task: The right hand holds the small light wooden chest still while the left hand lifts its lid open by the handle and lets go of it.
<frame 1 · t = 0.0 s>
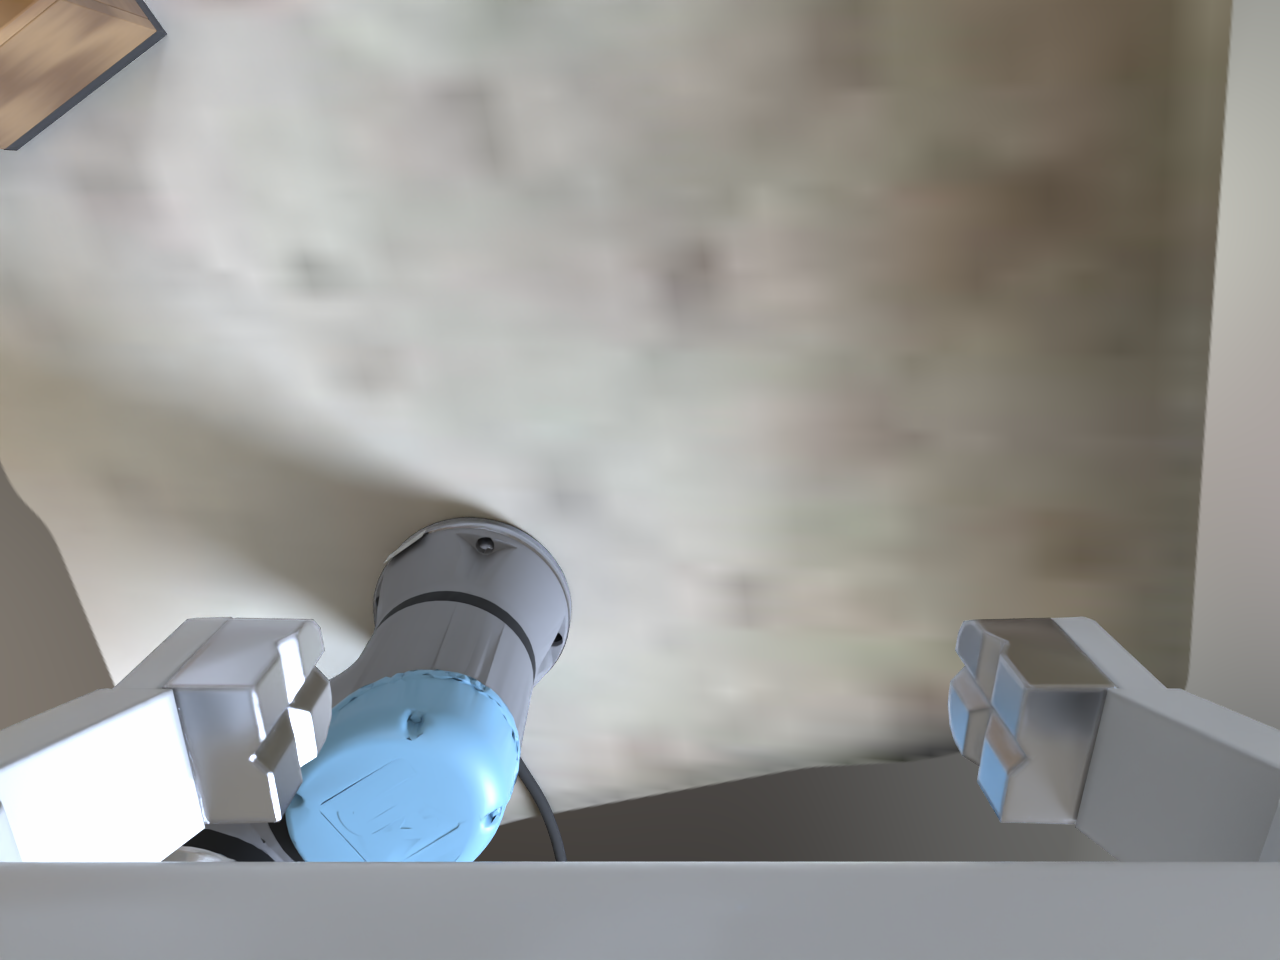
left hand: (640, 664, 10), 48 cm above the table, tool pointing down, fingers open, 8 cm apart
chest: (36, 22, 50), on the table
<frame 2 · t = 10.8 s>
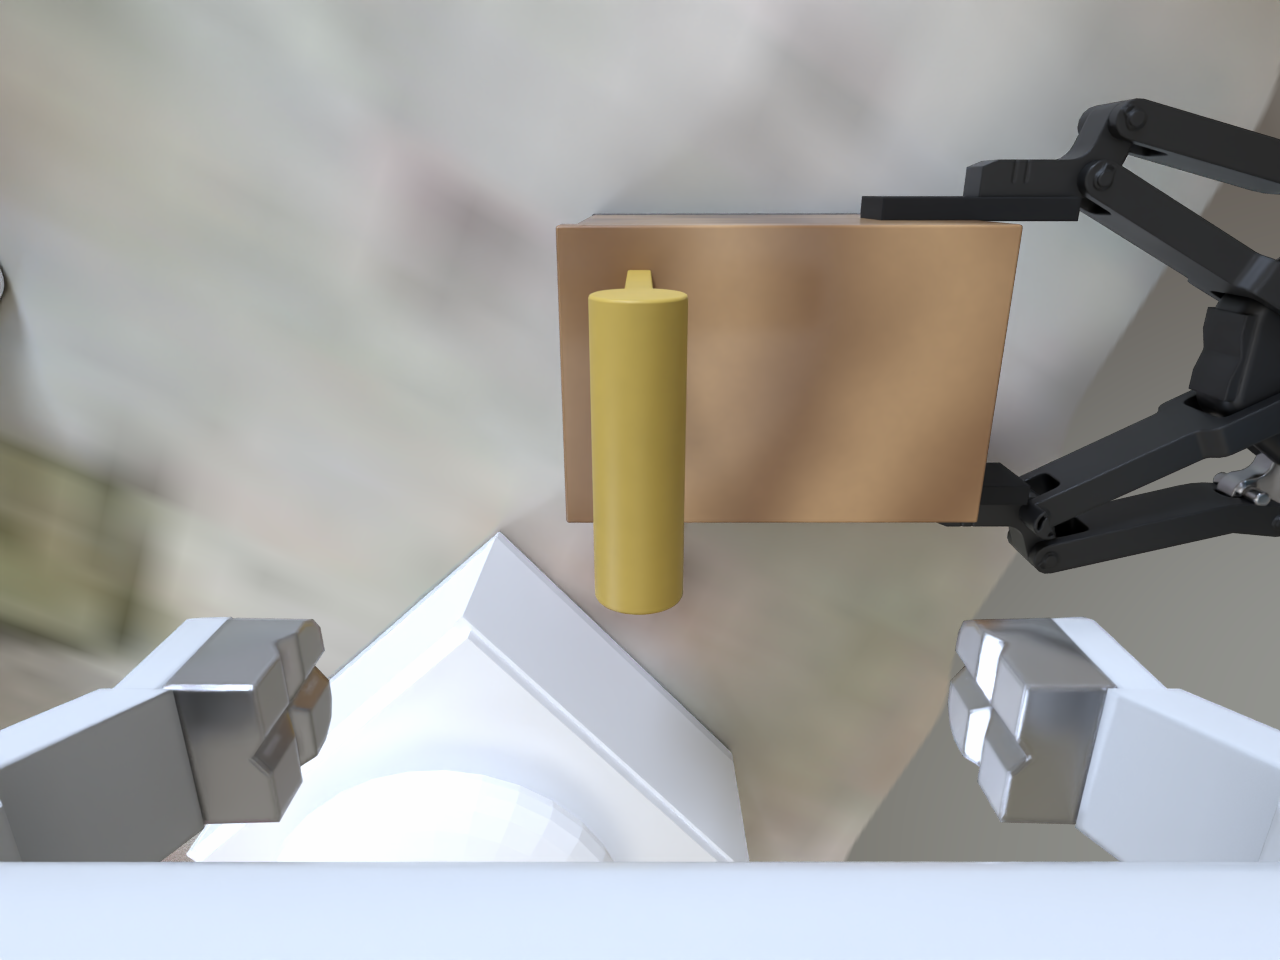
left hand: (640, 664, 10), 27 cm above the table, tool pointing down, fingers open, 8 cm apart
right hand: (857, 354, 29), fingers closed on chest, 9 cm apart
lid: (801, 413, 22), point 14 cm above the table, hinge at 0.0°
butter dish: (504, 744, 43), on the table
chest: (745, 326, 35), on the table, touching right hand
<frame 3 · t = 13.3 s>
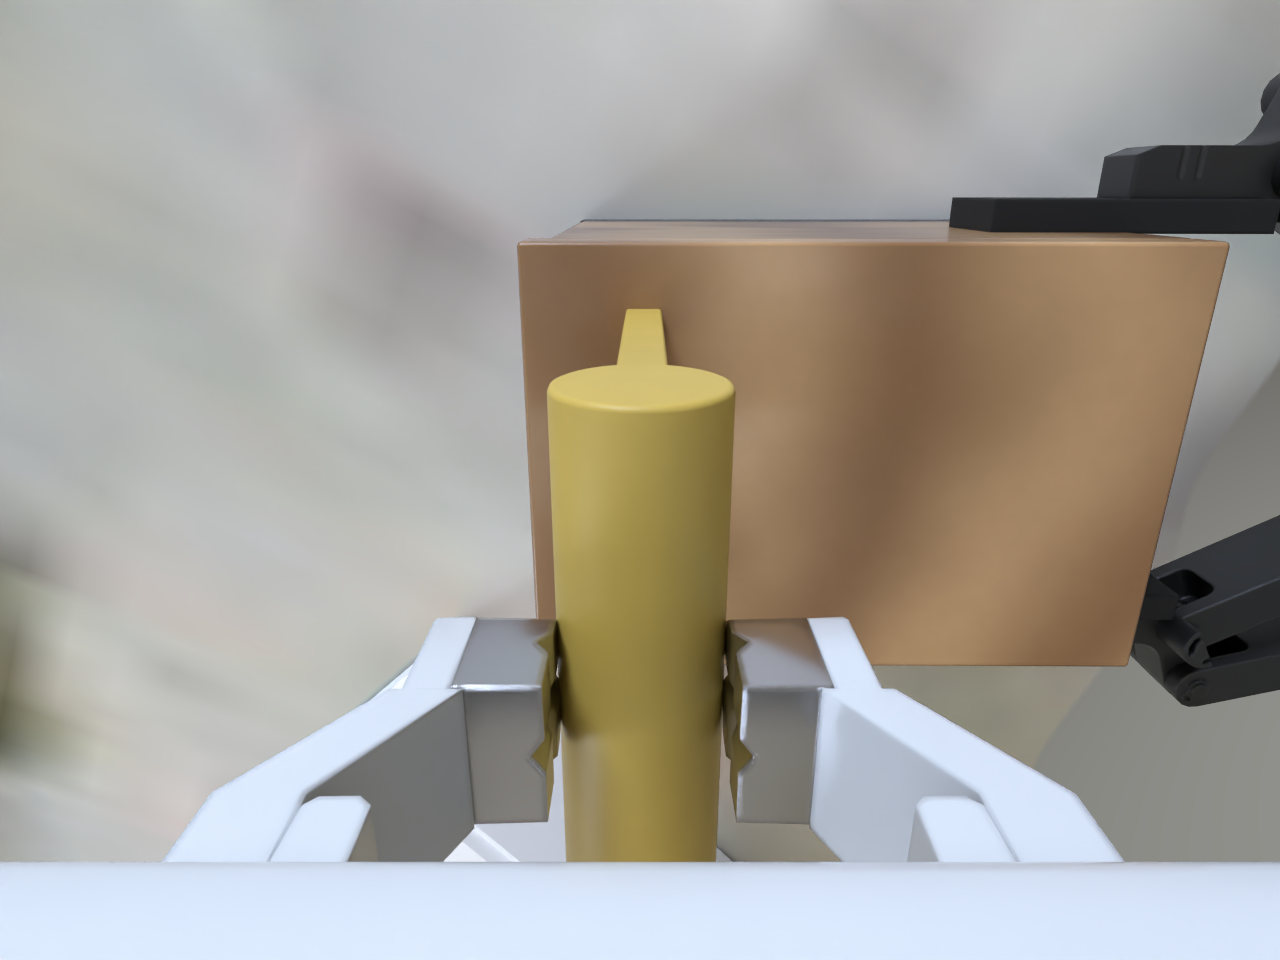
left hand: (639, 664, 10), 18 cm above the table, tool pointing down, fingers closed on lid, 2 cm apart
lid: (900, 543, 14), point 14 cm above the table, hinge at -0.2°, touching left hand
butter dish: (474, 869, 35), on the table
chest: (779, 365, 27), on the table, touching right hand
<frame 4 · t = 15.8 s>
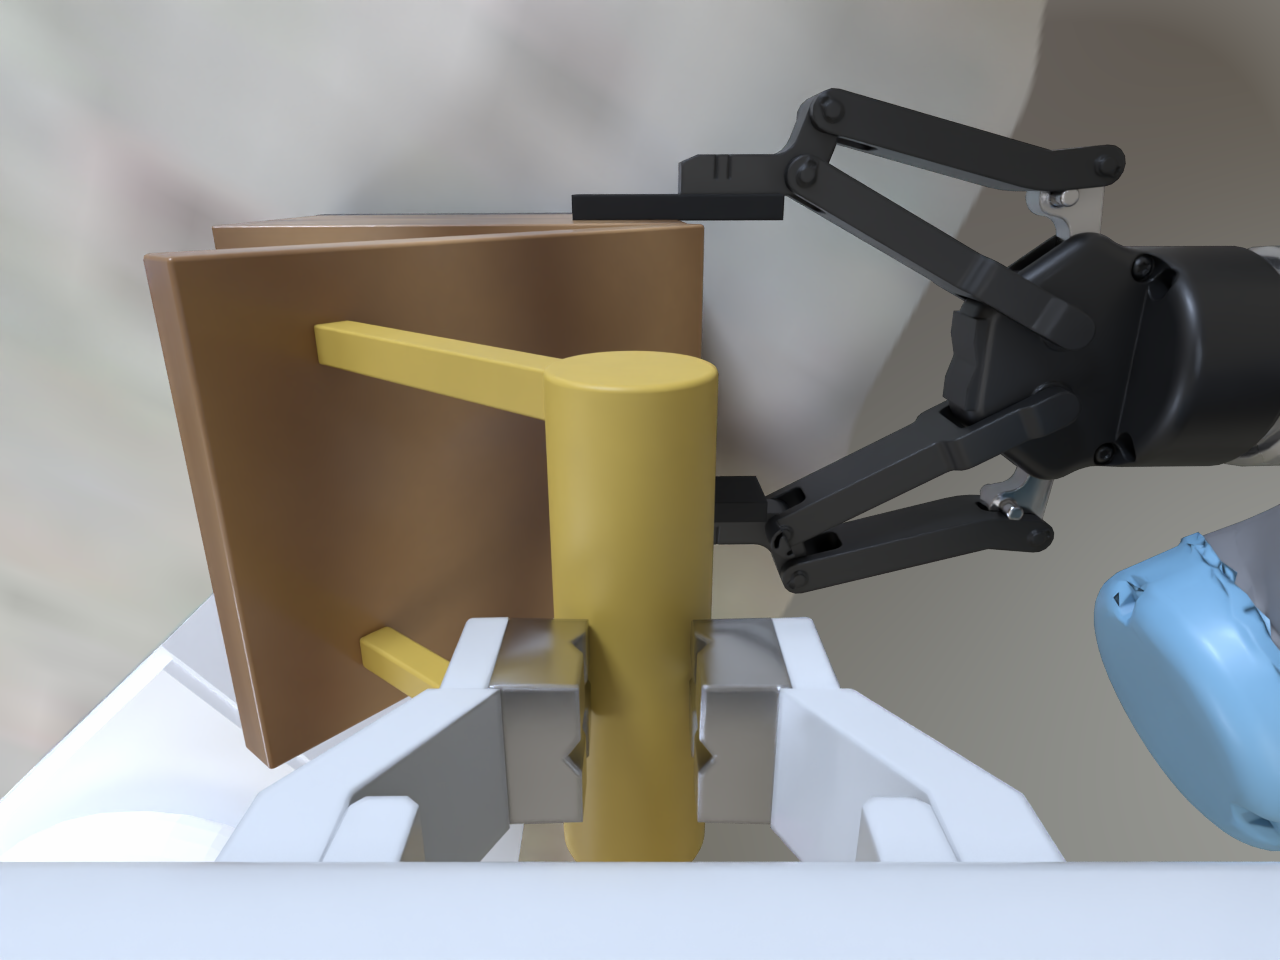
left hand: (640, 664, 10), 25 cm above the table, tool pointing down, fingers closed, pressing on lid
right hand: (579, 363, 27), fingers closed on chest, 9 cm apart
lid: (643, 483, 16), point 18 cm above the table, hinge at 46.9°, touching left hand
butter dish: (291, 770, 41), on the table
chest: (502, 333, 33), on the table, touching right hand
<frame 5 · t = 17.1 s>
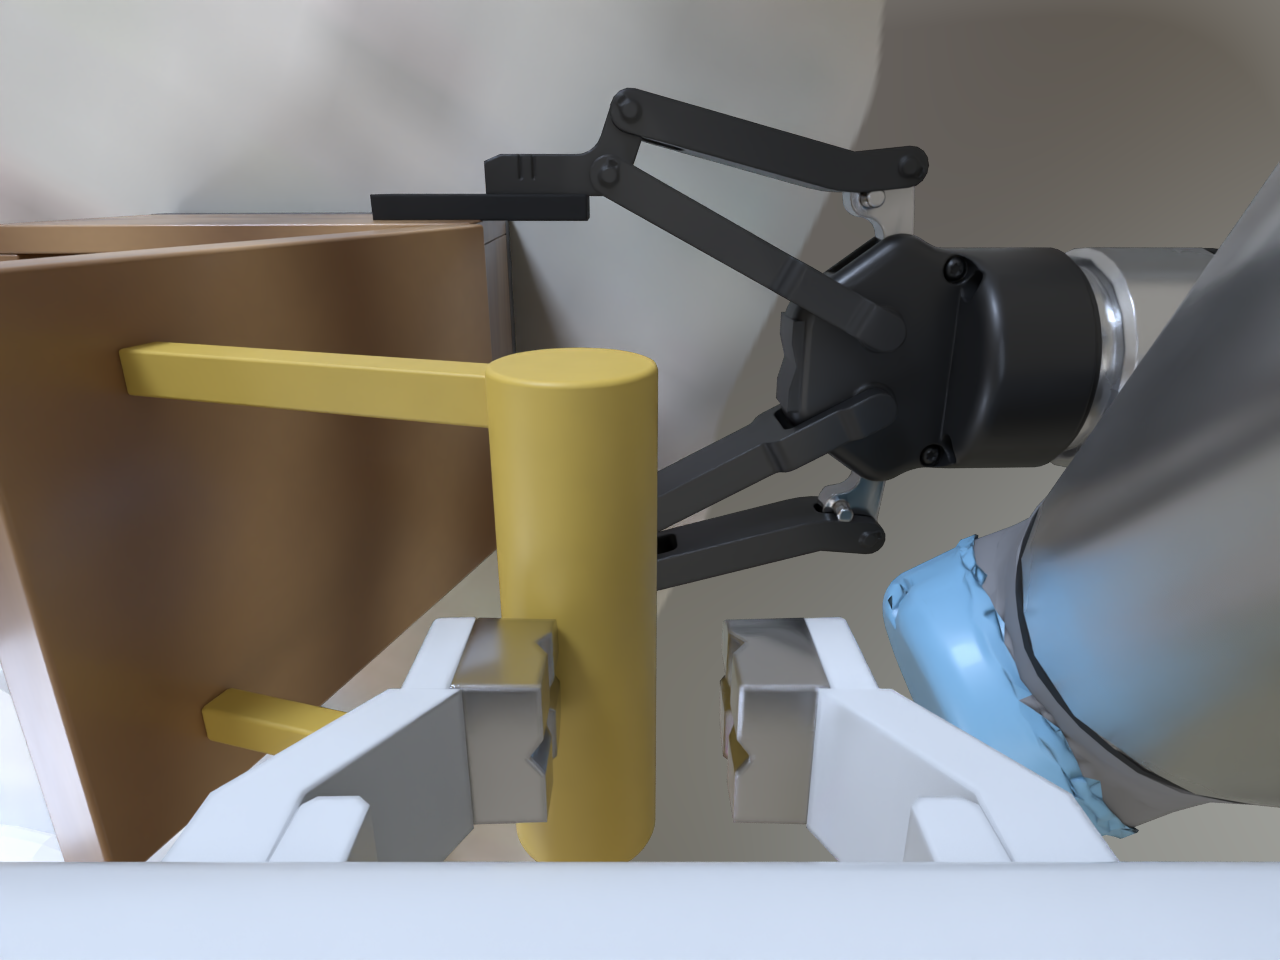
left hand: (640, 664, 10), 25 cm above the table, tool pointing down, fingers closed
right hand: (400, 364, 27), fingers closed on chest, 9 cm apart
lid: (497, 486, 16), point 18 cm above the table, hinge at 69.9°, touching left hand
butter dish: (168, 777, 40), on the table
chest: (353, 334, 33), on the table, touching right hand
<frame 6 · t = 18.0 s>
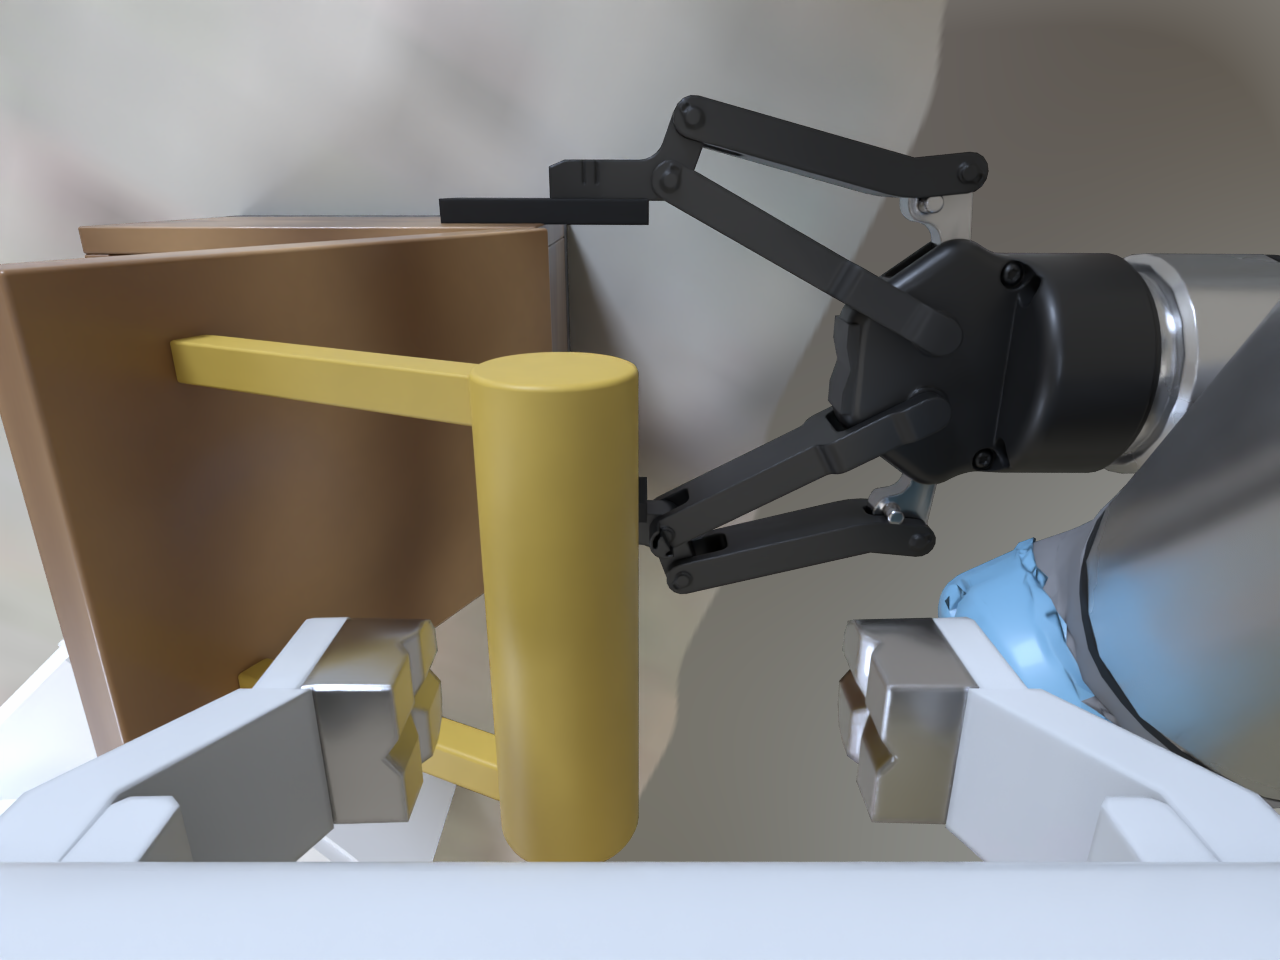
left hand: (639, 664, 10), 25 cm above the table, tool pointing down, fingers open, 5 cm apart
right hand: (461, 363, 28), fingers closed on chest, 9 cm apart
lid: (527, 484, 16), point 18 cm above the table, hinge at 64.3°
butter dish: (225, 762, 41), on the table
chest: (414, 333, 34), on the table, touching right hand
when the right hand's fingers open (6 cm above the table, at t = 20.9 s): chest stays where it is, on the table.
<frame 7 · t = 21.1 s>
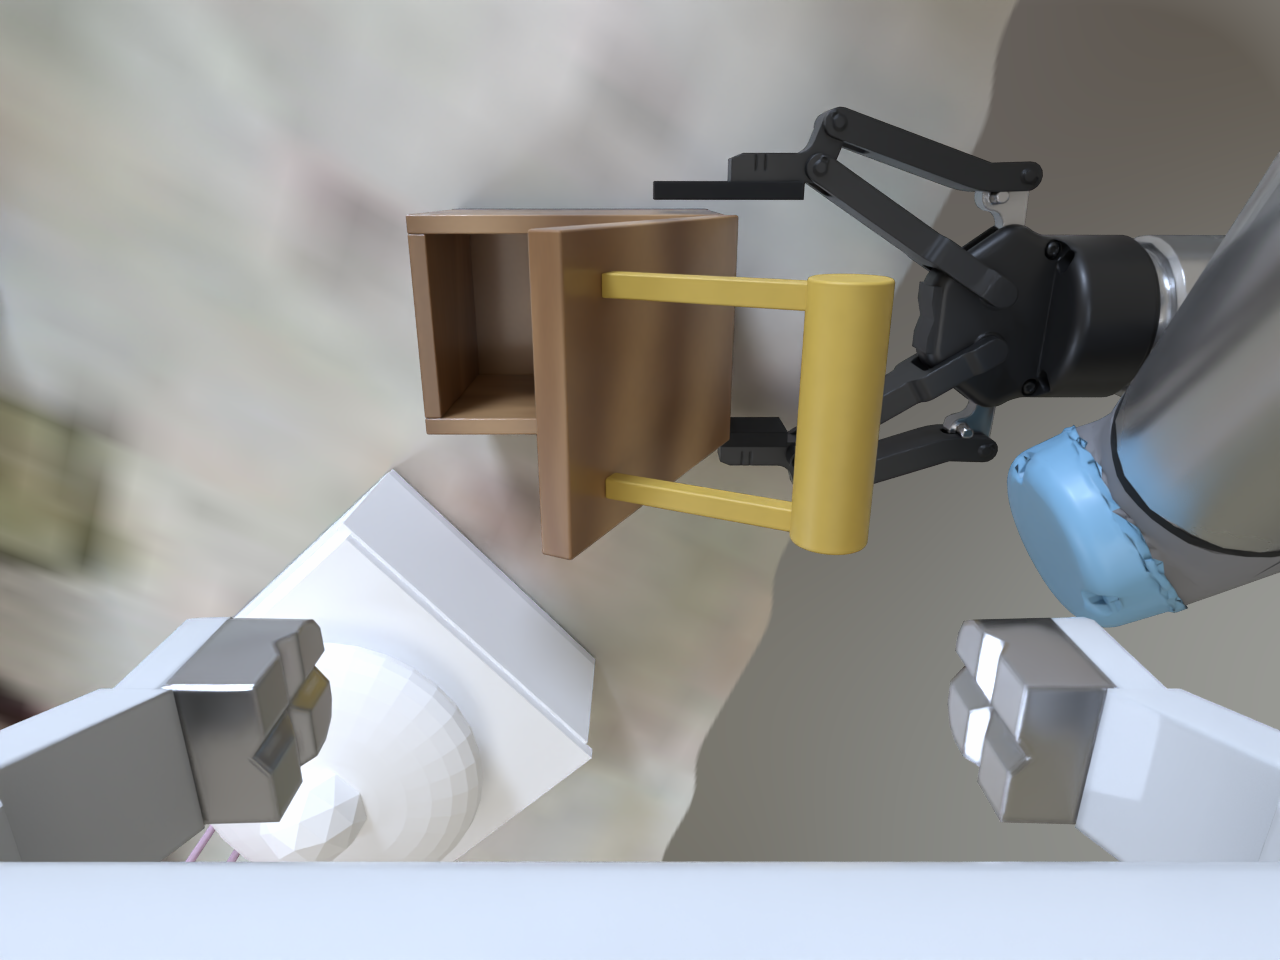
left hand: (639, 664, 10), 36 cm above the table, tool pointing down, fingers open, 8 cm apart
right hand: (652, 317, 38), fingers open, 11 cm apart
lid: (763, 372, 26), point 18 cm above the table, hinge at 63.7°
butter dish: (405, 651, 51), on the table
chest: (583, 300, 44), on the table
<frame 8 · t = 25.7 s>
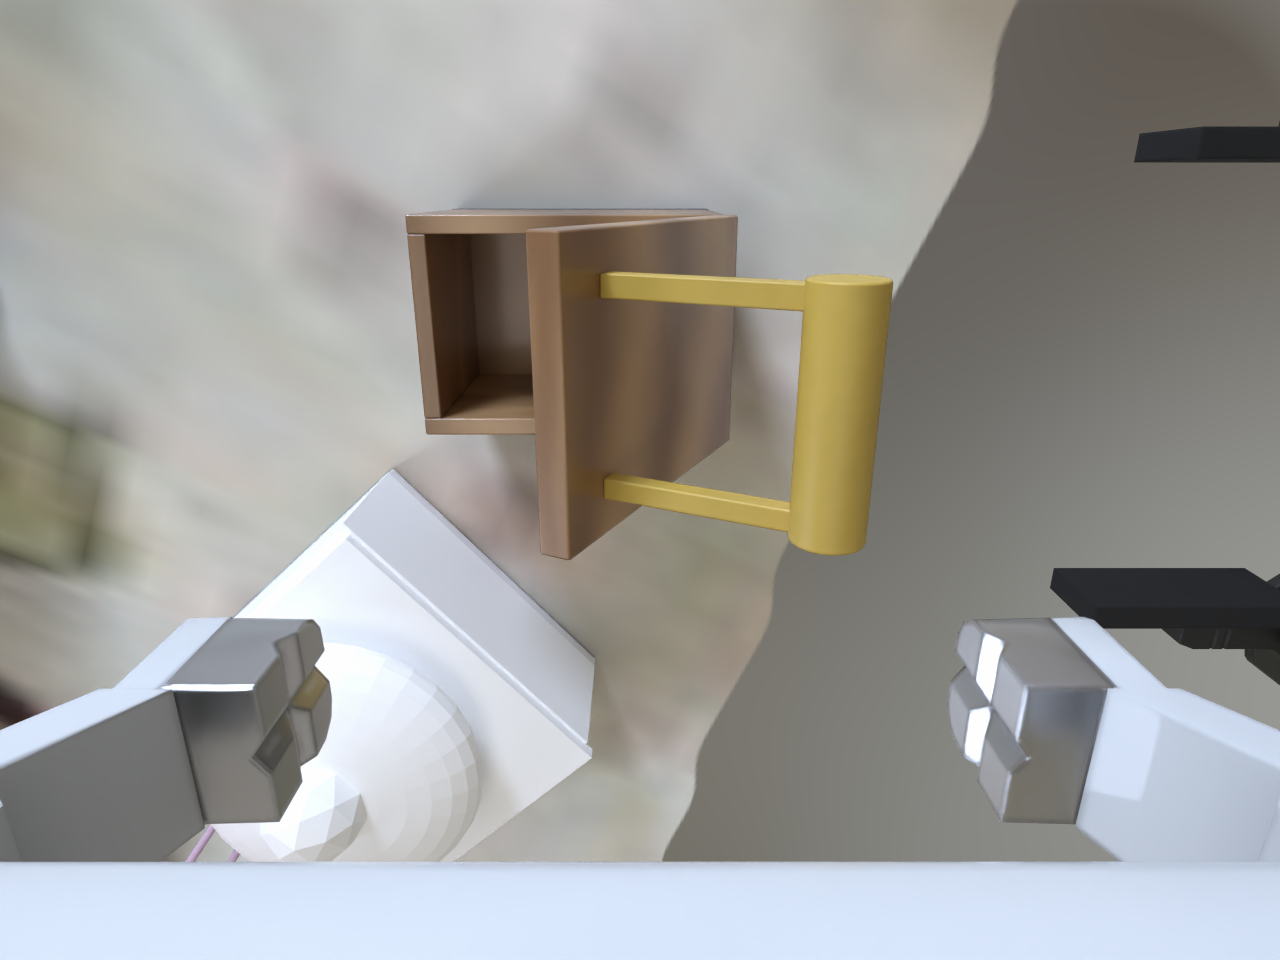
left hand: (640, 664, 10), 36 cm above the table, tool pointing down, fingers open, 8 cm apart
lid: (762, 372, 26), point 18 cm above the table, hinge at 63.7°
butter dish: (405, 651, 51), on the table
chest: (583, 300, 44), on the table
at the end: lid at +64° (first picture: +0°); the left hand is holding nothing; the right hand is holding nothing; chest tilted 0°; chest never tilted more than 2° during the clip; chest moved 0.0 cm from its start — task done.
